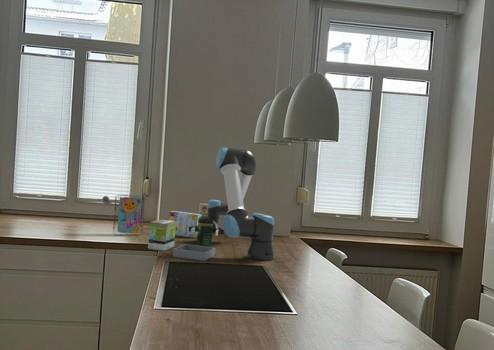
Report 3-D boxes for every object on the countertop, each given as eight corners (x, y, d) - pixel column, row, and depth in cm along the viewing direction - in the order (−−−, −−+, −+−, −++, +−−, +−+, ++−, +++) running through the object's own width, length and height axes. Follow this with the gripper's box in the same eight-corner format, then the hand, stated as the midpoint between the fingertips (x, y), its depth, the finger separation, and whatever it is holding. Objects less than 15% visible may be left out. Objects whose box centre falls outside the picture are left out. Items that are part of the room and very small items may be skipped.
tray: (215, 255, 272) (215, 247, 272) (204, 260, 255) (204, 252, 255) (185, 251, 276) (185, 244, 276) (172, 256, 259) (173, 248, 259)
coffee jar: (212, 251, 282) (215, 217, 282) (198, 251, 280) (201, 217, 279) (208, 248, 291) (210, 215, 291) (194, 247, 289) (197, 215, 288)
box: (100, 235, 305) (103, 194, 304) (99, 234, 311) (101, 193, 310) (142, 236, 315) (145, 196, 314) (140, 234, 320) (143, 195, 320)
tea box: (165, 251, 273) (167, 223, 272) (147, 249, 275) (149, 221, 274) (174, 246, 287) (176, 220, 287) (157, 244, 289) (159, 218, 289)
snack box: (200, 237, 327) (202, 214, 327) (195, 238, 322) (197, 214, 322) (172, 233, 336) (173, 210, 335) (167, 234, 331) (169, 210, 330)
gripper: (230, 235, 303) (225, 241, 282) (188, 232, 305) (181, 237, 284) (231, 223, 303) (227, 227, 282) (189, 219, 305) (182, 223, 284)
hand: (204, 232), depth 283 cm, fingers open, 13 cm apart
